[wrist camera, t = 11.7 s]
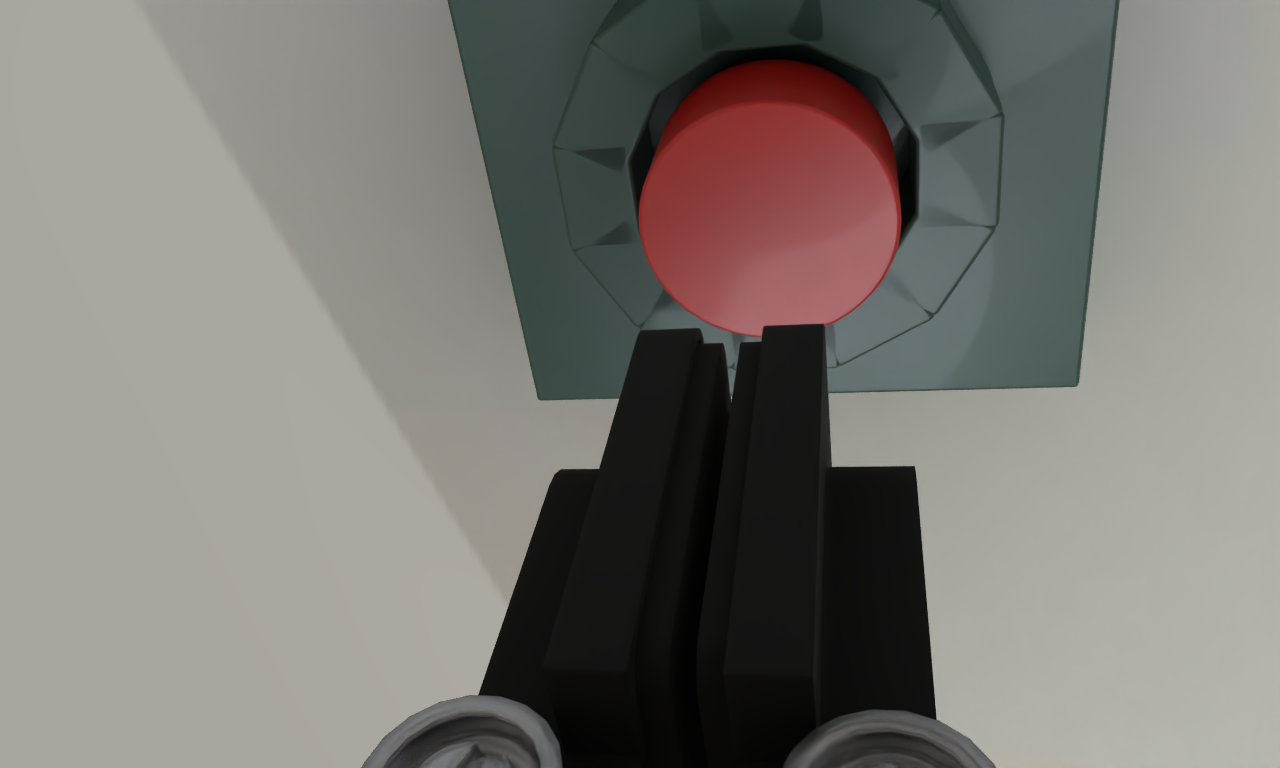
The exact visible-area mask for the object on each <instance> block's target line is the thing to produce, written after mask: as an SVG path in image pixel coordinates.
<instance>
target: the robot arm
mask: <svg viewBox="0 0 1280 768" xmlns="http://www.w3.org/2000/svg"><path fill="white" fill-rule="evenodd" d="M361 768H996V767H995V765H994V764H993V762H992V761H991V760H990V759H989V758H988V757H987V756H986V755H985V754H984V753H983V752H982V751H981V750H980V749H979V748H978V747H977V746H976V745H975V744H974V743H973V742H972V741H971V740H970V739H969V738H967V737H966V736H964V735H962V734H961V733H959V732H957V731H956V730H954V729H952V728H951V727H949V726H947V725H946V724H944V723H942V722H940V721H938V720H936V708H935V696H934V684H933V671H932V659H931V647H930V635H929V623H928V611H927V599H926V587H925V575H924V563H923V551H922V539H921V527H920V515H919V503H918V491H917V480H916V471H915V466H891V467H832V462H831V441H830V420H829V399H828V378H827V357H826V338H825V326H824V324H796V325H768V326H764V327H763V332H762V340H761V342H741V343H740V347H739V354H738V361H737V368H736V375H735V382H734V389H733V396H732V403H731V396H730V387H729V378H728V369H727V360H726V352H725V347H724V344H723V343H704V339H703V335H702V332H701V330H700V328H683V329H655V330H641V331H640V332H639V334H638V336H637V339H636V343H635V346H634V350H633V353H632V357H631V360H630V364H629V367H628V371H627V374H626V378H625V381H624V384H623V388H622V391H621V395H620V398H619V402H618V405H617V409H616V412H615V416H614V419H613V423H612V426H611V430H610V433H609V437H608V440H607V444H606V447H605V451H604V454H603V458H602V461H601V464H600V468H599V469H561V470H559V471H558V472H557V473H556V474H555V475H554V477H553V479H552V481H551V483H550V485H549V488H548V491H547V494H546V497H545V500H544V503H543V506H542V509H541V512H540V515H539V518H538V521H537V524H536V527H535V530H534V532H533V535H532V538H531V541H530V544H529V547H528V550H527V553H526V556H525V559H524V562H523V565H522V568H521V571H520V574H519V577H518V580H517V583H516V586H515V588H514V591H513V594H512V597H511V600H510V603H509V606H508V609H507V612H506V615H505V618H504V621H503V624H502V627H501V630H500V633H499V636H498V639H497V642H496V645H495V648H494V650H493V654H492V656H491V659H490V662H489V665H488V668H487V671H486V674H485V677H484V680H483V683H482V686H481V689H480V692H479V695H478V696H476V695H469V696H465V697H461V698H456V699H451V700H447V701H443V702H439V703H437V704H435V705H433V706H430V707H428V708H426V709H424V710H422V711H420V712H418V713H416V714H414V715H412V716H410V717H409V718H407V719H406V720H405V721H404V722H402V723H401V724H400V725H399V726H397V727H396V728H395V729H394V730H392V731H391V732H390V733H388V734H387V735H386V736H385V737H384V738H383V739H382V741H381V742H380V743H379V744H378V746H377V747H376V748H375V750H374V751H373V752H372V753H371V755H370V756H369V757H368V758H367V760H366V761H365V762H364V764H363V766H362V767H361Z"/></svg>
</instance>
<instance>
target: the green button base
mask: <svg viewBox="0 0 1280 768" xmlns="http://www.w3.org/2000/svg"><path fill="white" fill-rule="evenodd" d="M1119 1H1120V0H448V4H449V8H450V13H451V17H452V22H453V26H454V30H455V35H456V39H457V44H458V48H459V52H460V57H461V61H462V66H463V70H464V75H465V79H466V83H467V88H468V92H469V97H470V101H471V105H472V110H473V114H474V119H475V123H476V127H477V132H478V136H479V141H480V145H481V150H482V154H483V158H484V163H485V167H486V172H487V176H488V180H489V185H490V189H491V194H492V198H493V202H494V207H495V211H496V216H497V220H498V225H499V229H500V233H501V238H502V242H503V247H504V251H505V255H506V260H507V264H508V269H509V273H510V278H511V282H512V286H513V291H514V295H515V300H516V304H517V308H518V313H519V317H520V322H521V326H522V330H523V335H524V339H525V344H526V348H527V353H528V357H529V361H530V366H531V370H532V375H533V379H534V383H535V388H536V392H537V397H538V399H539V400H575V399H615V398H620V395H621V391H622V388H623V384H624V381H625V378H626V374H627V371H628V367H629V364H630V360H631V357H632V353H633V350H634V346H635V343H636V339H637V336H638V334H639V332H640V331H641V330H655V329H683V328H700V330H701V332H702V335H703V339H704V343H723V344H724V347H725V352H726V360H727V369H728V378H729V387H730V396H733V389H734V382H735V375H736V368H737V361H738V354H739V347H740V343H741V342H761V340H762V337H753V336H745V335H740V334H736V333H732V332H728V331H726V330H723V329H720V328H718V327H715V326H713V325H711V324H709V323H707V322H705V321H703V320H701V319H699V318H697V317H696V316H694V315H693V314H691V313H690V312H688V311H687V310H686V309H685V308H683V307H682V306H681V305H680V304H679V303H677V302H676V301H675V300H674V299H673V298H672V297H671V296H670V294H669V293H668V292H667V291H666V290H665V289H664V287H663V286H662V285H661V283H660V282H659V280H658V279H657V278H656V276H655V274H654V273H653V271H652V269H651V267H650V265H649V263H648V261H647V258H646V255H645V253H644V250H643V246H642V242H641V237H640V232H639V219H638V218H639V203H640V198H641V193H642V189H643V185H644V183H645V180H646V177H647V174H648V171H649V168H650V166H651V163H652V160H653V157H654V154H655V152H656V149H657V146H658V143H659V140H660V138H661V135H662V132H663V129H664V127H665V125H666V124H667V122H668V120H669V118H670V116H671V115H672V113H673V112H674V110H675V109H676V108H677V106H678V105H679V104H680V102H681V101H682V100H683V99H684V98H685V97H686V96H687V95H688V94H689V93H690V92H691V91H692V90H693V89H695V88H696V87H697V86H698V85H700V84H701V83H702V82H704V81H705V80H707V79H709V78H710V77H712V76H714V75H715V74H717V73H719V72H721V71H724V70H726V69H728V68H731V67H733V66H737V65H740V64H744V63H747V62H753V61H759V60H773V59H783V60H792V61H800V62H804V63H808V64H812V65H816V66H818V67H821V68H823V69H826V70H829V71H831V72H833V73H834V74H836V75H838V76H840V77H842V78H844V79H845V80H846V81H848V82H849V83H851V84H852V85H853V86H855V87H856V88H857V89H858V90H859V91H860V92H861V93H862V94H863V95H864V96H865V97H866V98H868V99H869V101H870V102H871V103H872V105H873V106H874V107H875V108H876V110H877V111H878V112H879V114H880V116H881V118H882V119H883V121H884V123H885V125H886V127H887V129H888V132H889V134H890V137H891V140H892V143H893V148H894V152H895V158H896V167H897V176H898V186H899V195H900V205H901V218H902V220H901V234H900V239H899V243H898V248H897V251H896V254H895V257H894V259H893V262H892V265H891V266H890V268H889V270H888V272H887V274H886V276H885V277H884V279H883V280H882V282H881V283H880V284H879V286H878V287H877V288H876V290H875V291H874V292H873V293H872V294H871V295H870V296H869V297H868V298H867V299H866V300H865V301H864V303H862V304H861V305H860V306H859V307H857V308H856V309H855V310H854V311H852V312H851V313H850V314H848V315H847V316H845V317H843V318H842V319H840V320H838V321H837V322H835V323H832V324H830V325H828V326H826V327H825V338H826V357H827V378H828V393H852V392H891V391H931V390H970V389H1010V388H1049V387H1076V386H1077V385H1078V383H1079V377H1080V368H1081V358H1082V349H1083V340H1084V330H1085V321H1086V311H1087V302H1088V293H1089V283H1090V274H1091V264H1092V255H1093V246H1094V236H1095V227H1096V217H1097V208H1098V198H1099V189H1100V180H1101V170H1102V161H1103V151H1104V142H1105V133H1106V123H1107V114H1108V104H1109V95H1110V85H1111V76H1112V67H1113V57H1114V48H1115V38H1116V29H1117V20H1118V10H1119Z"/></svg>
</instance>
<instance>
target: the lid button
mask: <svg viewBox="0 0 1280 768" xmlns="http://www.w3.org/2000/svg"><path fill="white" fill-rule="evenodd" d="M638 219H639V232H640V237H641V242H642V246H643V250H644V253H645V255H646V258H647V261H648V263H649V265H650V267H651V269H652V271H653V273H654V274H655V276H656V278H657V279H658V280H659V282H660V283H661V285H662V286H663V287H664V289H665V290H666V291H667V292H668V293H669V294H670V296H671V297H672V298H673V299H674V300H675V301H676V302H677V303H679V304H680V305H681V306H682V307H683V308H685V309H686V310H687V311H688V312H690V313H691V314H693V315H694V316H696V317H697V318H699V319H701V320H703V321H705V322H707V323H709V324H711V325H713V326H715V327H718V328H720V329H723V330H726V331H728V332H732V333H736V334H740V335H745V336H753V337H762V332H763V327H764V326H768V325H796V324H824V326H825V327H826V326H828V325H830V324H832V323H835V322H837V321H838V320H840V319H842V318H843V317H845V316H847V315H848V314H850V313H851V312H852V311H854V310H855V309H856V308H857V307H859V306H860V305H861V304H862V303H864V301H865V300H866V299H867V298H868V297H869V296H870V295H871V294H872V293H873V292H874V291H875V290H876V288H877V287H878V286H879V284H880V283H881V282H882V280H883V279H884V277H885V276H886V274H887V272H888V270H889V268H890V266H891V265H892V262H893V259H894V257H895V254H896V251H897V248H898V243H899V239H900V234H901V220H902V218H901V205H900V195H899V186H898V176H897V167H896V158H895V152H894V148H893V143H892V140H891V137H890V134H889V132H888V129H887V127H886V125H885V123H884V121H883V119H882V118H881V116H880V114H879V112H878V111H877V110H876V108H875V107H874V106H873V105H872V103H871V102H870V101H869V99H868V98H866V97H865V96H864V95H863V94H862V93H861V92H860V91H859V90H858V89H857V88H856V87H855V86H853V85H852V84H851V83H849V82H848V81H846V80H845V79H844V78H842V77H840V76H838V75H836V74H834V73H833V72H831V71H829V70H826V69H823V68H821V67H818V66H816V65H812V64H808V63H804V62H800V61H792V60H783V59H773V60H759V61H753V62H747V63H744V64H740V65H737V66H733V67H731V68H728V69H726V70H724V71H721V72H719V73H717V74H715V75H714V76H712V77H710V78H709V79H707V80H705V81H704V82H702V83H701V84H700V85H698V86H697V87H696V88H695V89H693V90H692V91H691V92H690V93H689V94H688V95H687V96H686V97H685V98H684V99H683V100H682V101H681V102H680V104H679V105H678V106H677V108H676V109H675V110H674V112H673V113H672V115H671V116H670V118H669V120H668V122H667V124H666V125H665V127H664V129H663V132H662V135H661V138H660V140H659V143H658V146H657V149H656V152H655V154H654V157H653V160H652V163H651V166H650V168H649V171H648V174H647V177H646V180H645V183H644V185H643V189H642V193H641V198H640V203H639V218H638Z"/></svg>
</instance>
